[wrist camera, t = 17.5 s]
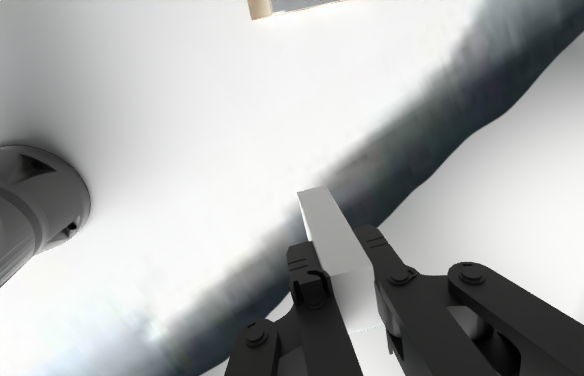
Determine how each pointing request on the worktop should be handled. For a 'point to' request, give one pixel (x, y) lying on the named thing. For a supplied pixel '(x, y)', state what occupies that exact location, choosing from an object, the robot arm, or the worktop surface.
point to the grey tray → (295, 5)
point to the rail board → (265, 8)
